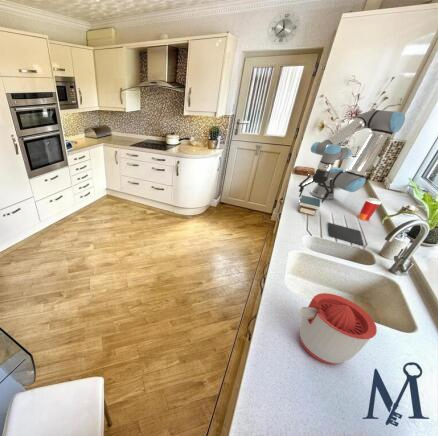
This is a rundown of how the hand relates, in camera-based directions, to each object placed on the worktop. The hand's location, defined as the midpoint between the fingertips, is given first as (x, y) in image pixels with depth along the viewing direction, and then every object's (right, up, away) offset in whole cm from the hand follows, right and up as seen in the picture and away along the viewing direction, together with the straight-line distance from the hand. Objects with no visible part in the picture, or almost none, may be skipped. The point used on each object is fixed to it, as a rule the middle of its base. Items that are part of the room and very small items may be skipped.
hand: (310, 199), depth 162 cm
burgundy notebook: (0, -7, +4) cm, 8 cm away
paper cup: (+32, -14, -4) cm, 35 cm away
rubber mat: (+5, -23, -22) cm, 32 cm away
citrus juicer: (-57, -56, -84) cm, 116 cm away
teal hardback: (0, -3, +2) cm, 4 cm away
